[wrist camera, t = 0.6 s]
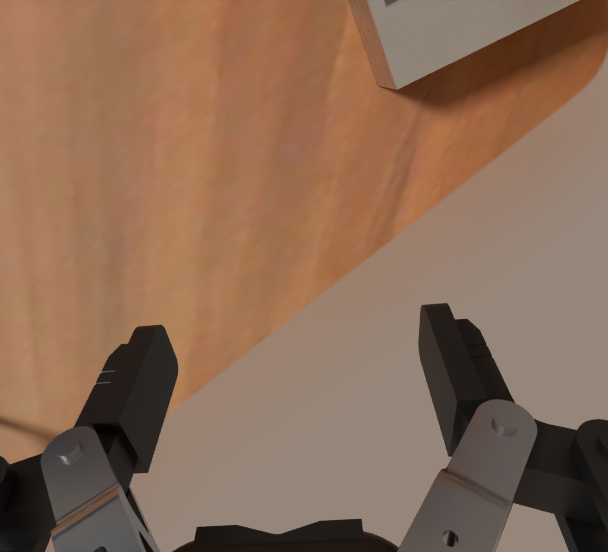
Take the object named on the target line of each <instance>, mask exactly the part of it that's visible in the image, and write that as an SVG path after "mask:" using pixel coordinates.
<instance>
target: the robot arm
mask: <svg viewBox="0 0 608 552" xmlns="http://www.w3.org/2000/svg"><path fill="white" fill-rule="evenodd" d="M418 343H419V354H420V360H421V364H422V367H423V370H424V374H425V377H426V381H427V384H428V388H429V391H430V395H431V398H432V401H433V405H434V408H435V411H436V415H437V418H438V422H439V425H440V429H441V432H442V436H443V439H444V442H445V446H446V449H447V453H448V456H449V457H452V458H451V460H450V462H449V464H448V466H447V467H446V469H442V470H441V471H440V472H439V473H438V475H437V477H436V479H435V480H434V482H433V484H432V486H431V488H430V490H429V492H428V494H427V496H426V497H425V500H424V501H423V503H422V505H421V507H420V509H419V511H418V513H417V515H416V517H415V518H414V521H413V522H412V524H411V526H410V528H409V530H408V532H407V534H406V536H405V538H404V540H403V541H402V543H401V545H400V547H397V546H396V545H394V544H393V543H391V542H390V541H388V540H386V539H384V538H382V537H380V536H377V535H375V534H372V533H368V532H364V531H363V529H362V519H348V520H328V521H318V522H315V523H313V524H310V525H306V526H303V527H300V528H297V529H295V530H291V531H288V532H285V533H283V534H271V533H267V532H263V531H259V530H255V529H250V528H247V527H243V526H239V525H227V526H206V527H197V529H196V534H195V540H194V541H192V542H189V543H187V544H185V545H183V546H181V547H179V548H178V549H176V550H174V551H173V552H495V551H496V548H497V545H498V542H499V540H500V537H501V535H502V532H503V529H504V527H505V524H506V521H507V519H508V516H509V513H510V511H511V508H512V505H513V503H516V504H519V505H523V506H527V507H531V508H535V509H538V510H542V511H546V512H550V513H553V514H555V517H556V520H557V522H558V525H559V527H560V530H561V532H562V535H563V537H564V540H565V543H566V545H567V548H568V550H569V552H608V421H607V420H600V419H596V420H590V421H586V422H584V423H583V424H582V425H580V427H579V428H578V430H574V429H569V428H564V427H560V426H555V425H550V424H546V423H543V422H540V421H537V420H536V419H534V418H533V417H532V416H531V415H530V414H529V412H528V411H526V410H525V409H524V408H523V407H521V406H519V405H517V404H516V403H515V402H514V400H513V398H512V396H511V394H510V392H509V390H508V388H507V386H506V384H505V382H504V380H503V378H502V375H501V373H500V371H499V369H498V367H497V365H496V363H495V361H494V359H493V358H492V355H491V352H490V350H489V348H488V347H487V346H486V342H485V340H484V338H483V336H482V334H481V332H480V330H479V329H478V328H477V327H476V326H475V325H473V324H472V323H471V322H470V321H469V320H468V319H457V320H455V319H454V317H453V314H452V312H451V309H450V307H449V305H448V304H447V303H442V304H429V305H422V306H421V311H420V326H419V342H418ZM177 375H178V363H177V358H176V356H175V353H174V350H173V348H172V345H171V343H170V340H169V338H168V335H167V333H166V330H165V328H164V326H162V325H152V326H139V327H137V328H136V329H135V330H134V332H133V334H132V336H131V338H130V341H129V343H128V344H121V345H120V346H119V347H118V348H117V349H116V350H115V351H114V352H113V353H112V354H111V355H110V356H109V357H108V359H107V361H106V363H105V365H104V367H103V369H102V373H101V374H100V375H99V377H98V379H97V381H96V385H94V387H93V389H92V391H91V393H90V396H89V398H88V400H87V402H86V404H85V406H84V408H83V410H82V412H81V414H80V416H79V418H78V420H77V422H76V424H75V426H74V427H73V428H71V429H68V430H66V431H64V432H63V433H61V434H59V435H58V436H57V437H55V438H54V439H53V440H52V441H51V442H50V443H49V444H48V446H47V447H46V449H45V450H44V452H43V453H42V454H39V455H36V456H33V457H30V458H27V459H25V460H22V461H19V462H16V463H13V464H9V463H8V462H7V461H6V460H5V459H4V458H3V457H1V456H0V552H45V550H46V548H47V545H48V543H49V540H50V537H52V542H53V546H54V550H55V552H160V550H159V548H158V546H157V544H156V542H155V540H154V538H153V536H152V534H151V531H150V529H149V527H148V525H147V522H146V520H145V518H144V516H143V513H142V511H141V510H140V507H139V504H138V502H137V500H136V498H135V495H134V493H133V491H132V489H131V487H130V482H131V479H132V476H133V474H134V473H148V471H149V467H150V464H151V461H152V457H153V454H154V451H155V448H156V445H157V441H158V438H159V435H160V432H161V428H162V425H163V422H164V419H165V415H166V412H167V409H168V406H169V402H170V399H171V396H172V393H173V389H174V386H175V383H176V380H177Z"/></svg>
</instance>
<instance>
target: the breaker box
mask: <svg viewBox="0 0 608 552" xmlns="http://www.w3.org/2000/svg"><path fill="white" fill-rule="evenodd" d="M577 1H579V0H348V2H349V5H350V8H351V11H352V14H353V16H354V19H355V22H356V25H357V28H358V31H359V34H360V36H361V39H362V42H363V45H364V48H365V51H366V54H367V57H368V59H369V62H370V65H371V68H372V71H373V74H374V77H375V80H376V82H377V85H378V86H382V87H386V88H391V89H396V90H397V89H400V88H402V87H404V86H406V85H408V84H410V83H412V82H414V81H416V80H418V79H420V78H422V77H424V76H426V75H428V74H430V73H432V72H434V71H436V70H438V69H440V68H442V67H444V66H446V65H448V64H451V63H453V62H455V61H457V60H459V59H461V58H463V57H465V56H467V55H469V54H471V53H473V52H475V51H477V50H479V49H481V48H483V47H485V46H487V45H489V44H491V43H493V42H495V41H497V40H499V39H502V38H504V37H506V36H508V35H510V34H512V33H514V32H516V31H518V30H520V29H522V28H524V27H526V26H528V25H530V24H532V23H534V22H536V21H538V20H540V19H542V18H544V17H546V16H548V15H550V14H553V13H555V12H557V11H559V10H561V9H563V8H565V7H567V6H569V5H571V4H573V3H575V2H577Z"/></svg>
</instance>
